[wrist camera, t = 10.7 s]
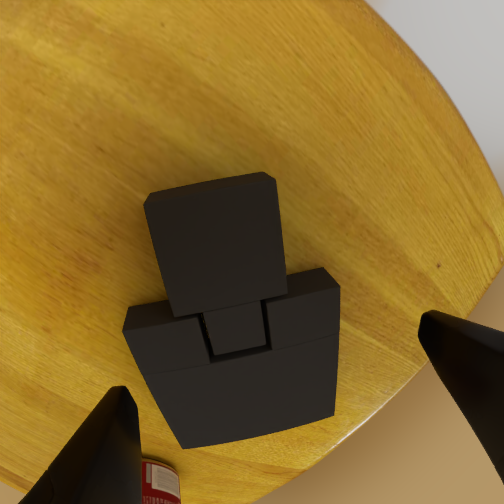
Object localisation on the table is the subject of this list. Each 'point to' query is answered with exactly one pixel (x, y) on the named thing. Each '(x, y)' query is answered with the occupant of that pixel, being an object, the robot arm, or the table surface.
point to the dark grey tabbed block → (220, 254)
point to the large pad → (242, 365)
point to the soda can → (159, 483)
